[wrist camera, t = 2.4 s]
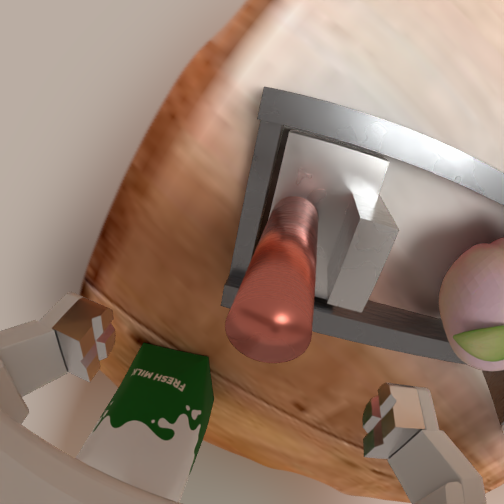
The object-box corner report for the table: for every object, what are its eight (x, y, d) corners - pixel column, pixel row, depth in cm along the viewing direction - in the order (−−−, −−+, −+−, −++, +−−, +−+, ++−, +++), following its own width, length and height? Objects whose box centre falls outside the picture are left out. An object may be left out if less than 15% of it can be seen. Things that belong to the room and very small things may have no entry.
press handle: (390, 158, 17) (472, 241, 7) (342, 289, 22) (345, 433, 12) (291, 129, 18) (252, 171, 8) (258, 266, 23) (207, 400, 12)
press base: (561, 210, 15) (628, 265, 7) (486, 347, 22) (515, 424, 14) (272, 88, 17) (232, 79, 9) (231, 283, 24) (189, 371, 16)
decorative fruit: (423, 322, 22) (452, 425, 13) (416, 229, 19) (470, 326, 10) (518, 294, 19) (569, 378, 10) (524, 202, 16) (606, 272, 7)
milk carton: (151, 388, 33) (77, 528, 16) (133, 332, 29) (25, 497, 12) (223, 405, 32) (164, 567, 15) (217, 350, 28) (130, 557, 10)
